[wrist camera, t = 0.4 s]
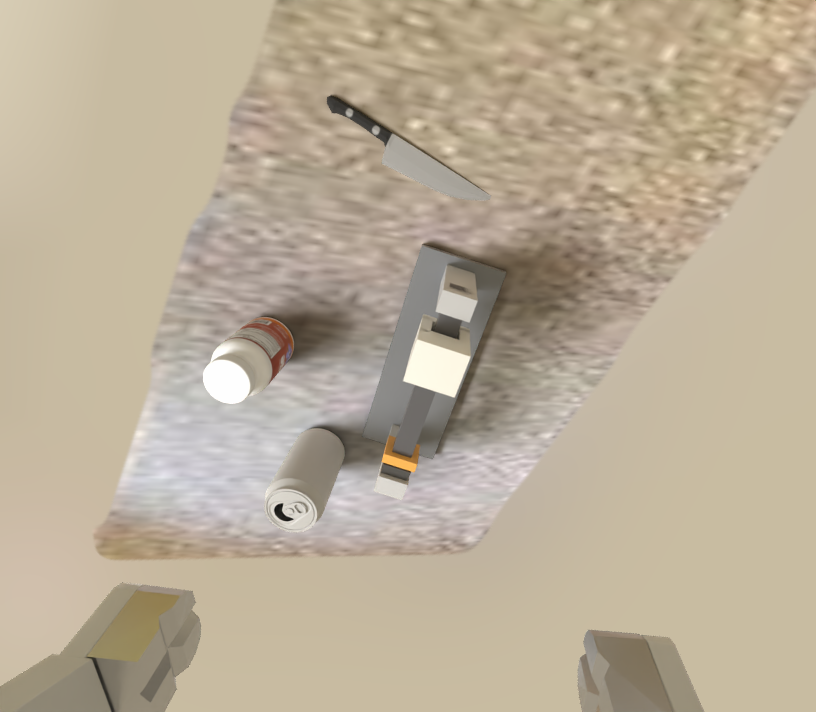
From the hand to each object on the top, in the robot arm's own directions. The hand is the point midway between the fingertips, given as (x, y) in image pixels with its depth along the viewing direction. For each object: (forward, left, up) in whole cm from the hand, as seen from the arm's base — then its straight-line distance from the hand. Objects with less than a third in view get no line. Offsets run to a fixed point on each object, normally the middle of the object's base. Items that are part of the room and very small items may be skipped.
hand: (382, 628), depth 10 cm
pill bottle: (+16, -16, -43) cm, 49 cm away
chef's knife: (-7, -6, -43) cm, 44 cm away
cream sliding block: (+7, +2, -36) cm, 37 cm away
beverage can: (+28, -7, -43) cm, 52 cm away
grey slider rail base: (+12, +2, -43) cm, 44 cm away
